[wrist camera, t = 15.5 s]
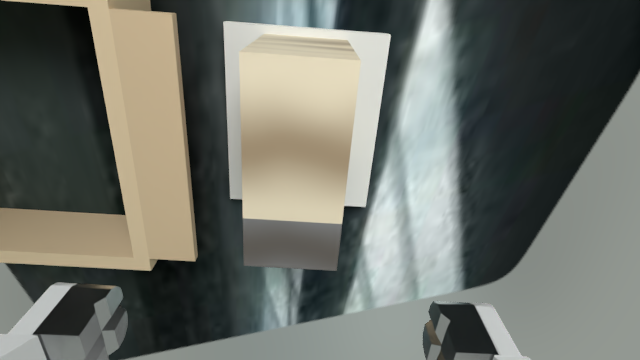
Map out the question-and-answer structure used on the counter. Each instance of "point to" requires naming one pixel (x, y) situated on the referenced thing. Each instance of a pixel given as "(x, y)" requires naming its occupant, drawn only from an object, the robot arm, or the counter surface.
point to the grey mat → (368, 100)
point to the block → (295, 148)
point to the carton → (124, 154)
